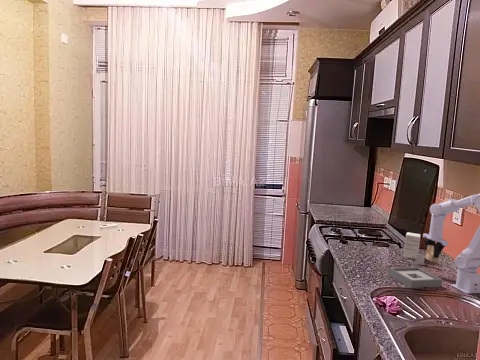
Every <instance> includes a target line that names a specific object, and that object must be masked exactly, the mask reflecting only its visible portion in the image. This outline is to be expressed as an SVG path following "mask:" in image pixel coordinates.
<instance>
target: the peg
mask: <svg viewBox="0 0 480 360" xmlns="http://www.w3.org/2000/svg"><path fill="white" fill-rule="evenodd" d="M426 254H427V255H426ZM426 254H425V255H426V258H425V259H426V260H428V261H430V262H439V261H440V256H439V257H438V258H435V257H434V245H428V247H427V248H426Z"/></svg>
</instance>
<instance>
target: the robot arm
mask: <svg viewBox="0 0 480 360" xmlns="http://www.w3.org/2000/svg"><path fill="white" fill-rule="evenodd" d="M467 206H475V208H476V209H477V210H478V211H479V213H480V193H477V194H472V195H469V196H467V197H464V198H460V199H458V200H457V199H455V198H448V200H446V201H440V202H439V203H433V204H431V205H430V207H429V213H430V214H431V216H430V217H431V219H430V226H429V232H428V233H423V234H422V238H424V239H423V242H424V244H425V247H426V249H427V247H428V245H434V257H435V258H438V257H439V258H440V255H441V252H442V251H443V250H444V248H445V247H446V246H448V244H449V241H447V240H445V239H444V238H443V234H444V233H443V232H444V225H445V221H446V218H447V216H448V215H450V214H453V213H456V212H458V211H460V209H461V208H465V207H467ZM454 262H455V266H456V267H457V273H456V274H457V275H456V280H455V281H456V282H455V283H453V284H452V283H451V284H450V286H451V287H453V288H456V289H458V290H459V291H462V292H463V293H465V294H468V295H469V294H480V274H479V273H478V270H479V269H480V224H479V225H478V228H477V229H476V231H475V233H474V235H473V236H472V238H471V240H470V242H469V244H468V246H467V247H466V248H464V249H463V250H462V251H461V253H460V254H459V255H457V256H456V257H455V261H454Z"/></svg>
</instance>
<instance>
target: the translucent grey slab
mask: <svg viewBox="0 0 480 360" xmlns="http://www.w3.org/2000/svg"><path fill="white" fill-rule="evenodd" d="M426 255H427V253H426V254H425V255H423V254H421V253H418V255H416V259H414V264H415V265H421V266H424V265H425V259H426Z"/></svg>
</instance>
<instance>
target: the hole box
mask: <svg viewBox="0 0 480 360" xmlns="http://www.w3.org/2000/svg"><path fill="white" fill-rule="evenodd" d="M387 275H388V276H389V277H391V278H392V279H394V280H395V281H397V282H400V283H401V284H403V285H405V286H407V287H408V288H409V287H410V288H409V289H423V287H430V288H442V285H443V284H442V283H443V279H442V278H440V277H438V276H436V275H434V274H432V273H431V272H428V271H426V270H424V269H422V268H421V267H418V266H417V267H416V266H413V267H411V266H410V267H389V268H388V274H387Z"/></svg>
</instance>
